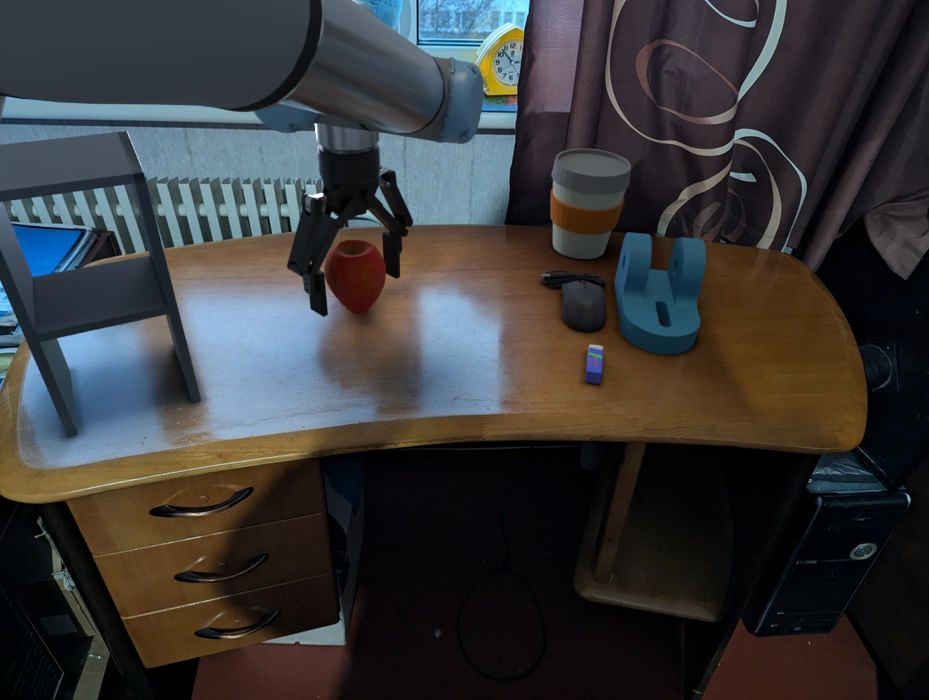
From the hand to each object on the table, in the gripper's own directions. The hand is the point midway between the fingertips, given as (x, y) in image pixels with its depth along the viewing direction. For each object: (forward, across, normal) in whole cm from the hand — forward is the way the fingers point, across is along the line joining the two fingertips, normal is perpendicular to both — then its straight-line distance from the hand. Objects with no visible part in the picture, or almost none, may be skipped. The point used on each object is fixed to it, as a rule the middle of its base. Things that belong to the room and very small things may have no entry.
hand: (357, 292), depth 93 cm
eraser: (+3, -12, +32) cm, 34 cm away
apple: (+3, 0, 0) cm, 3 cm away
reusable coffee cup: (+3, -40, +12) cm, 42 cm away
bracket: (+3, -29, +32) cm, 43 cm away
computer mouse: (+3, -24, +22) cm, 33 cm away
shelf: (+3, +30, -7) cm, 31 cm away
